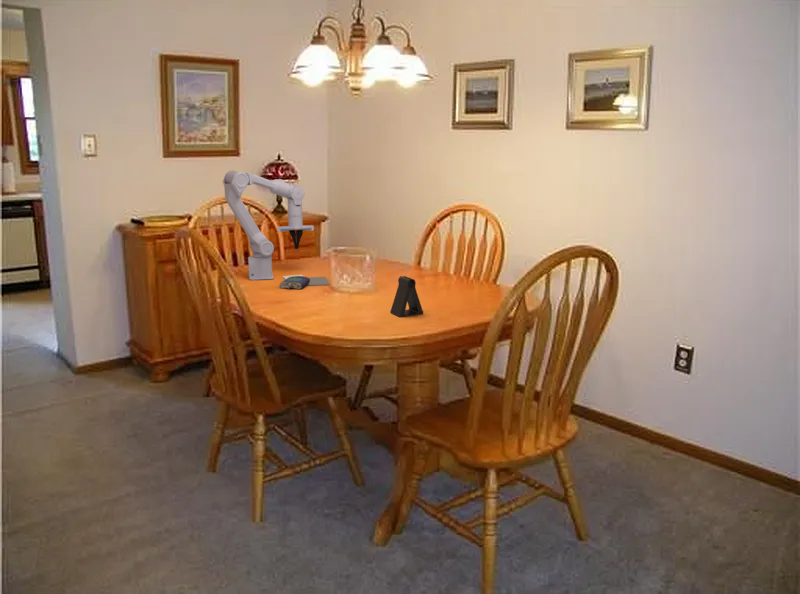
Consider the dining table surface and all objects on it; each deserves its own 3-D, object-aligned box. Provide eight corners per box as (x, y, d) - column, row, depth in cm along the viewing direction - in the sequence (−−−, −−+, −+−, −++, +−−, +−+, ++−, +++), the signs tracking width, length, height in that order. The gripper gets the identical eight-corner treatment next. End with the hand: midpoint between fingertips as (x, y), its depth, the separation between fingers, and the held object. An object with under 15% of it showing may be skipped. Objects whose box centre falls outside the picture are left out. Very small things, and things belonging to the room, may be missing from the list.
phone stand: (413, 309, 228) (414, 274, 225) (423, 313, 223) (423, 277, 220) (390, 313, 223) (390, 277, 221) (399, 317, 218) (399, 280, 216)
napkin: (285, 280, 272) (285, 279, 272) (282, 277, 277) (282, 276, 277) (305, 278, 275) (305, 277, 275) (301, 275, 280) (301, 274, 280)
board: (308, 286, 262) (308, 285, 262) (305, 278, 275) (305, 277, 275) (329, 285, 264) (329, 284, 263) (325, 277, 277) (325, 276, 277)
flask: (287, 282, 266) (277, 289, 256) (287, 275, 266) (276, 282, 256) (310, 283, 264) (300, 290, 254) (310, 276, 264) (300, 282, 254)
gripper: (277, 217, 274) (279, 250, 277) (314, 216, 277) (315, 249, 280) (276, 215, 281) (278, 248, 284) (312, 214, 284) (313, 246, 287)
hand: (296, 248), depth 283 cm, fingers closed
